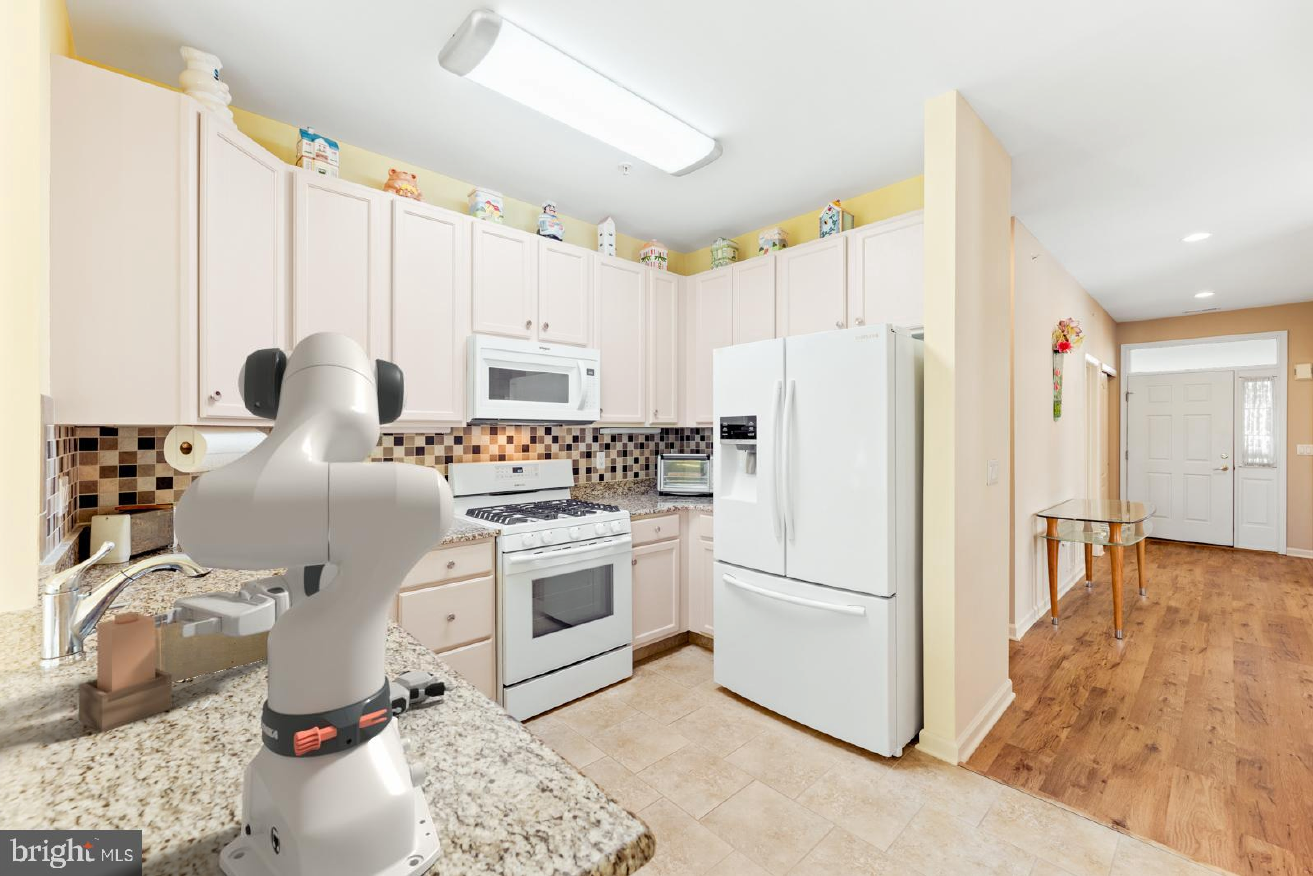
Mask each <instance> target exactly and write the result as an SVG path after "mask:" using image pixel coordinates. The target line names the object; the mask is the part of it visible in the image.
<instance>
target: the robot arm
mask: <svg viewBox="0 0 1313 876" xmlns="http://www.w3.org/2000/svg"><path fill="white" fill-rule="evenodd" d="M237 378H238V382H237V385H238V386H237V387H238V391H239V395H240V397H241V399H242V401H243V403H244V407H245V409H246V410H247V411H249V412H250V413H251V414H252V416H255V417H258V418H263V419H266V420H271V421H272V420H274V421H275V422H274V424H273V428H272V430H271V431H270V432H269V434H268V435H267V436H266V437H265V438H264V439H263V440H262V441H261V442H260V443H258V445H256V446H255V447H253V448H252V449H251V450H250V451H249V452H247V453H245V454H243V455H242V456H241V457H238V458H237V459H235V460H234V461H231V462H228V463H226V464H225V465H223V466H220V467H217V468H215V469H212V470H209V471H206V472H203V473H202V474H200V475H199V476H198V477H197V478H195V479H194V480H193V481H192V482H191V483H190V485H188V487H187V488H186V489H185V490H184V492H183V493H182V495H181V496H180V497H179V500H178V502H177V504H176V507H175V511H174V514H173V515H174V516H173V529H174V534H175V537H176V540H177V543H178V544H179V547H180V548H181V549H182V551H183V553H184V554H185V555H186V556H187V557H188V558H189V559H190V560H191V561H192V562H193V563H195V564H196V565H197V566H199V567H201V568H207V569H217V570H218V569H221V570H232V571H233V570H235V571H247V572H248V571H252V572H253V571H254V572H259V571H267V570H268V571H271V570H279V569H286V572H285V573H283V574H280V575H275V576H269V577H264V578H263V577H262V578H258V579H253V580H250V581H249V580H248V581H246V582H245V583H243V585H242V586H241V587H240V588H239V590H237V591H236V592H234V593H232V592H227V591H215V592H214V591H213V592H207V593H201V594H196V595H195V594H194V595H191V596H186V597H180V598H178V599H176V600H175V601H173V608H171V609H169V610H167V611H164V612H163V613H158V614H153V615H151V618H154V619H155V629H156V628H161V627H166V626H168V624H171V623H174V622H177V623H178V622H180V623H183V624H180V625H179V626H178V635H179V636H181V637H183V638H188V637H189V638H190V637H193V636H197V635H200V636H201V635H207V634H208V635H209V634H215V633H216V634H220V635H223V636H226V637H228V638H243V637H249V636H253V635H257V634H262V633H266V632H269V633H268V636H267V698H266V700H265V701H264V702H263V705H262V713H261V716H260V728H261V741H262V743H263V745H262V747H261V748H260V749H259V751H258V752H257V754H256V755H255V756H254V758H253V759H252V760H250V762H249V763H248V765H247V766H246V767H245V768H244V772H243V783H242V786H243V788H242V802H241V804H242V805H241V824H240V825H241V828H240V835H239V836H237V837H236V838H234V839H233V840H232V841H231V842H230V843H228V844H227V845H226V846H224V847H223V849H222V850H221V851H220V853H219V859H218V860H219V861H218V866H219V868H220V869H221V871H223V872H224V874H225V875H226V876H422V875H423V874H424V873H425V872H426V871H428V870H429V868H431V867H432V866H433V864H435V863H436V861H437V860H438V859H439V858H440V856H441V855H440V854H442V852H441V851H442V850H441V843H440V839H439V836H438V833H437V830H436V827H435V824H434V822H433V819H432V816H431V812H430V809H429V806H428V804H427V803H428V802H427V800H426V798H425V795H424V791H423V789H422V786H423V785H424V784H425V781H426V777H425V776H426V773H425V767H424V766H425V765H424V763H423V762H422V761H418V762H415V763H411V764H409V763H408V762H407V758H406V755H405V753H407V752H409V751H410V750H411V741H410V738H409V737H406V738H401V734H400V731H399V727H398V722H399V721H398V720H399V719H398V718H397V717H394V716H393V712H392V704H391V703H392V695H391V690H390V687H389V681H390V680H389V677H387V676H386V655H387V653H386V652H387V651H386V650H387V638H388V637H387V636H388V626H389V619H390V613H391V609H392V606H393V603H394V600H395V597H396V596H397V593H398V591H399V589H400V587H401V586H402V583H404V581H405V579H406V577H407V575H408V574H409V573H410V572H411V570H413V568H415V566H416V564H417V563H419V561H421V560H422V559H423V558H424V557H425V556H426V555H427V554H428V553H429V552H431V551H432V550H433V549H435V548H436V547H437V546H438V545H439V544H440V543H441V542H442V541H443V539H445V537H446V536H447V534H448V532H449V531H450V528H451V526H452V523H453V521H454V516H455V499H454V498H455V497H454V494H453V490H452V488H451V486H450V484H449V482H448V481H447V480H446V478H445V476H444V475H442V474H441V472H440V471H438V469H437V468H435V467H430V466H426V465H425V466H424V465H419V464H415V463H407V462H406V463H405V462H400V461H365V460H367V458H368V457H369V456H370V455H371V454H372V452H373V451H374V449H375V448H376V446H377V444H378V442H379V439H380V435H381V432H380V430H381V427H380V426H382V425H387V424H391V423H394V422H395V421H396V420H398V419H399V418H400V417H401V416H402V412H403V410H404V409H405V407H406V404H407V399H408V386H407V382H406V380H405V376H404V372H403V370H402V369H401V368H400V367H399V366H398V364H396V363H393V362H391V361H388V360H383V359H380V358H376V360H374V359H370V358H369V357H368V356H367V353H366V352H365V350H364V348H363V347H362V346H361V345H360V344H359V343H358V342H357V341H356V340H354V339H353V338H351V337H349V336H347V335H345V334H343V333H339V332H333V331H321V332H315V333H313V334H310V335H308V336H306V337H304V338H303V339H301V340H300V341H299V342H297V344H296V346H295V347H294V349H293V350H292V349H289V350H286V349H285V350H284V349H281V348H280V347H273V348H261V349H257V350H255V351H253V352H252V353H250V354H248V356H247V357H246V360H245V362H244V363H243V365H242V366H241V368H240V371H239V375H238V377H237Z"/></svg>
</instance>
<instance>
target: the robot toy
mask: <svg viewBox="0 0 1313 876" xmlns="http://www.w3.org/2000/svg"><path fill="white" fill-rule="evenodd" d="M437 681H438V680H437V674H436V673H434V674H433V673H430V671H422V670H406V671H404V672H401V673H400V674H399V675H398V676H396V678H395V679H394V680H392V681H391V680H389V687H390V690H391V695H392V703H391V704H392V712H393V716H394V717H395V718H397V717H399V716H401V715H404V713H405V712H406V711H407V710H408V709H409V708H410V706H409V705H410V704H413V703H420V701H421V702H424V701H426V700H427V699H428V697H431V698H435V697H441V696H442V697H443V696H445V692H452V691H454V690H455V688H456V686H455V685H454V684H453V683H446V684H445V683H444V681H440V682H437ZM423 700H424V701H423Z"/></svg>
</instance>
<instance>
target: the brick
mask: <svg viewBox="0 0 1313 876" xmlns="http://www.w3.org/2000/svg"><path fill="white" fill-rule="evenodd" d="M96 632H97V642H96V643H97V644H96V645H97V649H96V650H97V652H96V653H97V654H96V656H97V657H96V659H97V660H96V661H97V663H96V665H97V668H96V669H97V673H96V674H97V676H96V677H97V678H96V679H97V689H98V690H100V691H103V692H105V693H108V692H111V691H115V690H118V689H121V688H125V687H128V686H131V685H135V684H138V683H141V682H144V681H148V680H151V679H154V678H155V668H156V627H155V619H154V618H151V617H150V616H147V615H144V614H140V613H139V612H138V611H130V612H129V611H128V612H124V613H119V614H116V615H114V619H111V620H107V621H103V622H98V623H97V631H96Z"/></svg>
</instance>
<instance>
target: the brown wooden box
mask: <svg viewBox="0 0 1313 876" xmlns="http://www.w3.org/2000/svg"><path fill="white" fill-rule="evenodd" d="M172 676H173V675H172V674H171V673H169V672H166V671H164V670H162V669H159V668H157V667H155V678H154V679H151V680H148V681H144V682H141V683H138V684H135V685H131V686H128V687H125V688H121V689H118V690H115V691H111V692H108V693H105V692H103V691H100V690H98V689H97V678H96V679H93V680H89V681H85V682H83V683H80V684H78V720H79V721H81V722H83V723H84V724H87V725H88V726H90V727H92V728H93V729H95V730H97V731H99V732H100V733H104V732H107V731H110V730H113V729H116V728H119V727H122V726H124V725H127V724H131V723H134V722H137V721H140V720H142V719H144V718H145V719H146V718H149V717H150V716H153V715H157V714H159V713H163V712H165V711H168V710H171V709H173V707H172V705H173V704H172V699H173V698H172V697H173V696H172V692H173V691H172V688H173V687H172V684H173V683H172V682H173V680H172V679H173V678H172Z"/></svg>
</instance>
